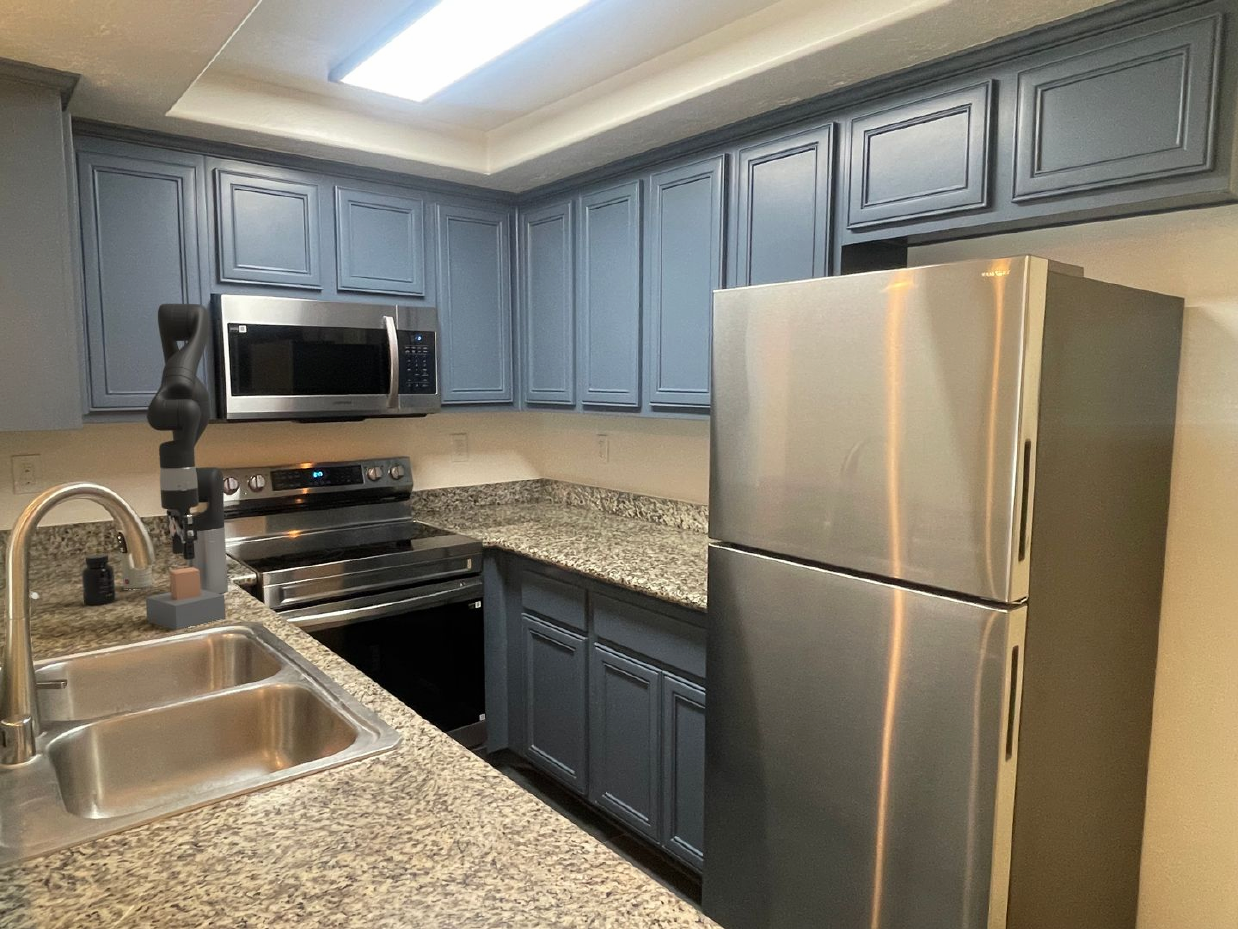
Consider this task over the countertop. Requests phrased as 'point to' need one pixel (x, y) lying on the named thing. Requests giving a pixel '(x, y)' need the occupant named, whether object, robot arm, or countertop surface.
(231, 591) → the countertop surface
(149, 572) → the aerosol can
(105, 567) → the supplement bottle
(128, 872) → the countertop surface
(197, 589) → the terracotta block
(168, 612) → the charcoal storage box
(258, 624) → the countertop surface
